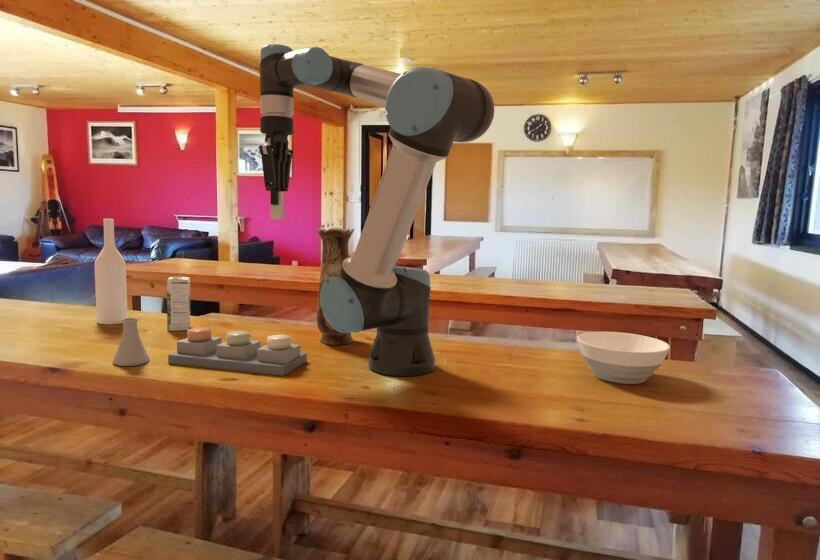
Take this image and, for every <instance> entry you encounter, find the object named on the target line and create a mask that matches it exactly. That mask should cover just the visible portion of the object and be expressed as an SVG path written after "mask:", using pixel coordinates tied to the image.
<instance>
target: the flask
mask: <svg viewBox="0 0 820 560" xmlns="http://www.w3.org/2000/svg"><path fill="white" fill-rule="evenodd" d="M121 321H122V322H123V323H122V333H121V338H120V341H119V343H118V347H117V350H116V352H115V354H114V359H113V360H112V365H115V366H120V367H135V366H138V365H142V364H147V363H148V362H149V361H150V360H151V359H150V356H149V354H148V353H147V351H146V350H147V349H146V348H145V346H144V344H143V341H142V339H141V337H140V335H139V330H138V329H139V328H138V321H139V318H137V317H128V318H124V319H122V320H121Z"/></svg>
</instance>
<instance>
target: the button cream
mask: <svg viewBox="0 0 820 560" xmlns="http://www.w3.org/2000/svg"><path fill="white" fill-rule="evenodd" d="M291 344H292V336H290V335H287V334H272V335H269V336H267V337H266V345H267V347H268V348H271V349H282V350H283V349H286V348H289V347H291Z"/></svg>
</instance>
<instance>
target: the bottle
mask: <svg viewBox="0 0 820 560" xmlns="http://www.w3.org/2000/svg"><path fill="white" fill-rule="evenodd" d="M115 242H116V241H115V220H114V218H103V248H102V249H101V250H100V252H99V254H98V255H97V257H96V259H95V260H94V287H95V288H94V289H95V307H96V308H95V313H96V323H97V324H98V325H119V324H123V322H122V321H121V320H122V319H124V318H129V317H128V316H129V315H128V293H127V292H128V291H127V288H128V287H127V286H128V285H127V265H126V261H125V258H124V257H123V255H122V254H121V253H120V251H119V250H118V248H117V247H116V243H115Z"/></svg>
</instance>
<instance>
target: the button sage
mask: <svg viewBox="0 0 820 560" xmlns="http://www.w3.org/2000/svg"><path fill="white" fill-rule="evenodd" d="M225 338H226V341H227V344H229V345H241V346H242V345H245V344H249V343H250V340H251V332H249V331H244V330H237V331H230V332H226V337H225Z"/></svg>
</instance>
